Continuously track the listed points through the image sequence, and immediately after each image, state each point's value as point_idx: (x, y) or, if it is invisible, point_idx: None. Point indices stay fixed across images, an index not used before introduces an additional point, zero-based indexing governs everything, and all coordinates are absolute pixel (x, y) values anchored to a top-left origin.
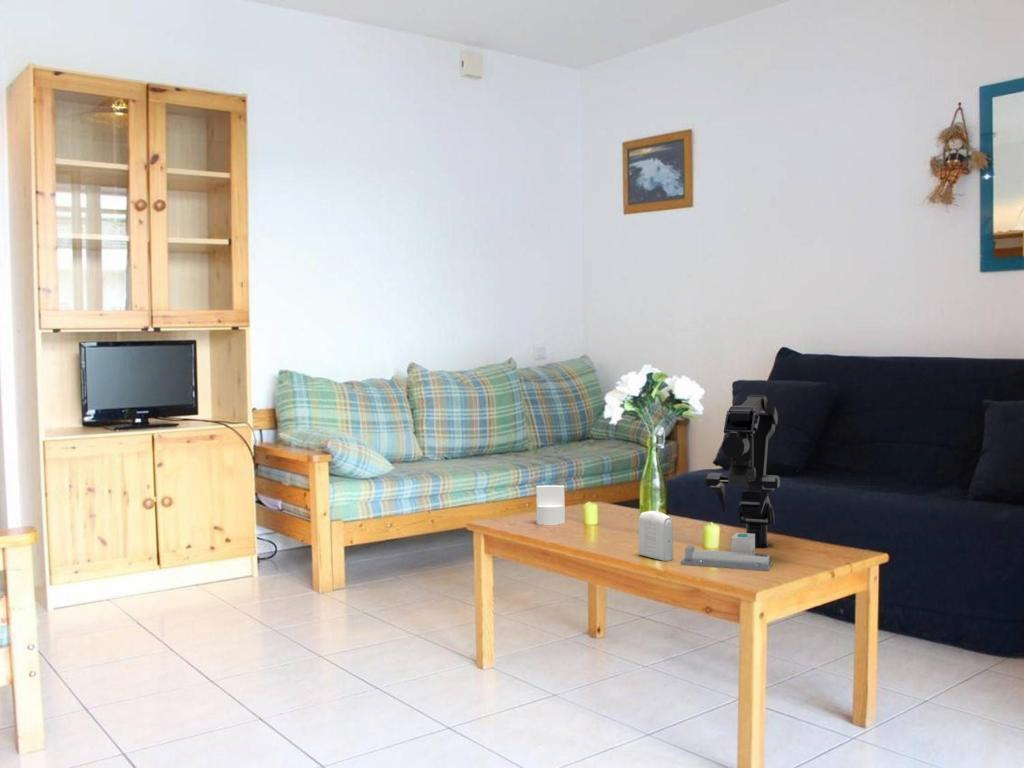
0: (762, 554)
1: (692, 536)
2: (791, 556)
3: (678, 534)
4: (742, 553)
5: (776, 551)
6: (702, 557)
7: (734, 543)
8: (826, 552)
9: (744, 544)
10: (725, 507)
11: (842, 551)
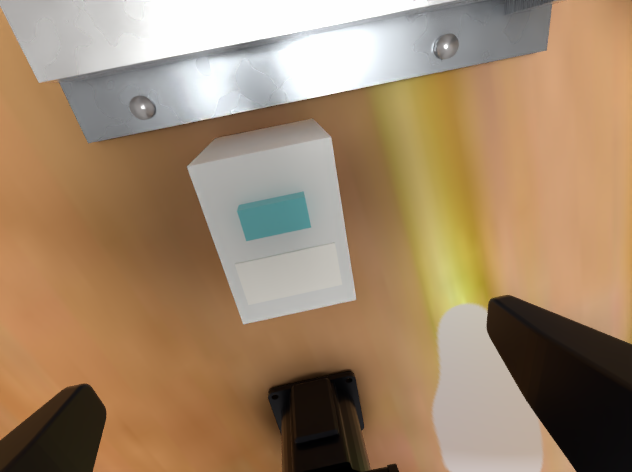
0: (71, 52)
1: None
2: (118, 323)
3: None
4: (203, 13)
5: (214, 364)
6: None
7: (305, 133)
8: None
9: (240, 148)
10: (526, 355)
11: None
